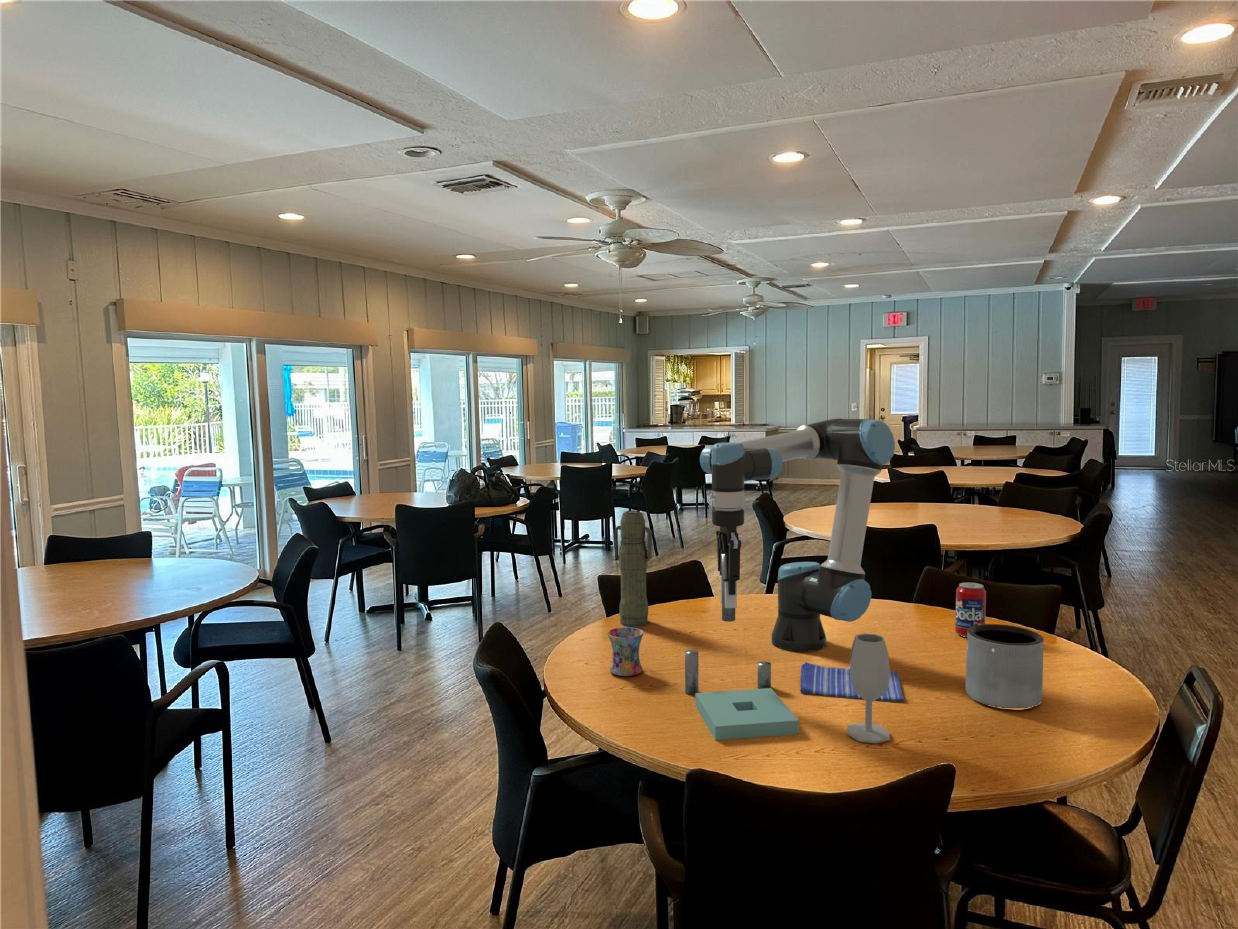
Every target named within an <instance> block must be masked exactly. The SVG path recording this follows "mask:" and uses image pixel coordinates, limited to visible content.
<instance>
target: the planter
mask: <svg viewBox="0 0 1238 929" xmlns="http://www.w3.org/2000/svg"><path fill="white" fill-rule="evenodd" d="M966 640H967V642H966V657H965V658H966V659H965V660H966V661H965V683H964V685H965V686H964V687H965V692H966V694H967V695H968V696H969V697H970V699H972V700H974V701H975V700H976V701H975V702H977V701H978V702H977V703H979V702H981V703H983V704H986V705H991V706H995V707H1001V708H1028V707H1032V706H1035V705H1038V704H1039V703H1040V702H1041V701H1042V702H1043V690H1044V689H1043V685H1044V684H1043V683H1044V680H1043V679H1044V678H1043V677H1044V644H1045V642H1044V641H1045V638H1044V637H1043V635H1041V634H1039V633H1038V632H1036V631H1034V630H1032V629H1031V630H1030V629H1028V628H1025V627H1021V626H1016V625H1008V624H999V623H997V624H996V623H985V624H982V625H976V626H973V627H970V628H969V629H968V631H967V638H966ZM1042 702H1041V703H1042ZM981 703H980V704H981ZM983 704H982V705H983ZM986 705H985V706H986ZM1039 705H1040V704H1039ZM1039 705H1038V706H1039Z"/></svg>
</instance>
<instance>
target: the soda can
mask: <svg viewBox="0 0 1238 929" xmlns="http://www.w3.org/2000/svg"><path fill="white" fill-rule="evenodd" d="M986 605H987V590H985V587H984V585H983V584H981V583H977V582H966V581H965V582H961V583H959V584H958V587H957V588H956V592H955V621H954V622H955V627H954V630H955V633H956V634H957V635H959V636H960V635H962V636H965V637H967V631H968V629H969V628H970V627H973V626H976V625H982V624H986ZM962 636H961V637H962ZM965 637H964V638H965Z"/></svg>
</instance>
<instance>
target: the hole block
mask: <svg viewBox="0 0 1238 929" xmlns="http://www.w3.org/2000/svg"><path fill="white" fill-rule="evenodd" d="M694 696H695V698H694V700H695V703H694V704H695V705H694V706H695V708H696V710H697V711H698V713H699V715H700V717H701V718H702V719H703V722H704V723H705V725H706V726H707V729H708V730H709V731H710V734H711V735H712V737H713V738H714V740H715V741H723V740H724V741H725V740H737V739H738V740H739V739H750V738H751V739H752V738H763V737H764V738H765V737H777V736H790V735H792V736H793V735H799V734H800V721H799V718H798V717H797V716H796V715H795V713H793V712H792V710H791V709H790V708H789V707H788V705H786V703H785V702H784V701H783V700H782V699H781V698H780V697H779V696H778V695H777V693H776V692H775V691H774V690H773V689H772V687H771V688H765V689H759V688H753V689H740V690H739V689H738V690H735V689H734V690H725V691H723V690H722V691H710V692H709V691H708V692H699V693H695V695H694Z"/></svg>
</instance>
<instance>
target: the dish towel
mask: <svg viewBox="0 0 1238 929" xmlns="http://www.w3.org/2000/svg"><path fill="white" fill-rule="evenodd" d="M799 687H800V689H799V691H800V693H801V694H806V695H807V694H808V695H809V694H810V695H813V696H815V695H816V696H821V695H822V696H823V697H834V698H845V699H855V698H856V700H864V699H863V698H862V697H860V696H859V695H858V694H857V693H856V692H855V691H854V690H853V686H852V682H851V677H850V668H845V667H834V666H833V667H831V666H827V665H825V666H821V665H817V664H814V663H810V662H807V661H805V662H804V663H802V664H801V668H800V686H799ZM875 701H878V702H879V701H880V702H891V701H892V702H893V703H894V702H904V701H905V698H904V696H903V692H902V686H901V682H900V678H899V674H898V671H897V670H892V671H891V670H890V681H889V685H888V688H887V691H886V693H885V694H884V695H882V696H881V697H879V698H878V699H876V700H875Z"/></svg>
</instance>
